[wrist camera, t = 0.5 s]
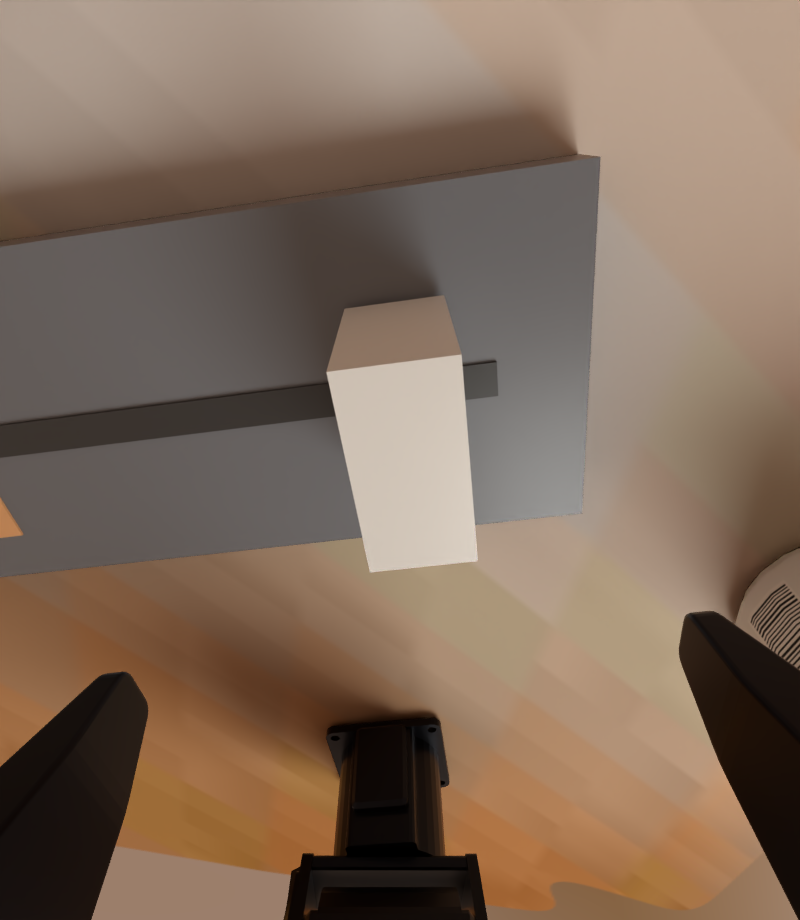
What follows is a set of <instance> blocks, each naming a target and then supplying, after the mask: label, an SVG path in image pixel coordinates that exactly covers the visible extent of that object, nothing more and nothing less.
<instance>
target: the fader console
mask: <svg viewBox="0 0 800 920" xmlns="http://www.w3.org/2000/svg"><path fill="white" fill-rule="evenodd" d="M599 175H600V157H598V156H590V155H582V154H576V155H570V156H563V157H557V158H550V159H543V160H537V161H530V162H523V163H517V164H510V165H504V166H497V167H490V168H484V169H477V170H470V171H464V172H457V173H451V174H444V175H437V176H431V177H424V178H417V179H411V180H404V181H398V182H391V183H384V184H378V185H371V186H364V187H358V188H351V189H344V190H338V191H331V192H325V193H318V194H311V195H305V196H298V197H291V198H285V199H278V200H272V201H265V202H258V203H252V204H245V205H238V206H232V207H225V208H219V209H212V210H205V211H199V212H192V213H185V214H179V215H172V216H166V217H159V218H152V219H146V220H139V221H132V222H126V223H119V224H113V225H106V226H99V227H93V228H86V229H79V230H73V231H66V232H60V233H53V234H46V235H40V236H33V237H26V238H20V239H13V240H7V241H0V577H6V576H15V575H24V574H33V573H42V572H52V571H61V570H70V569H79V568H88V567H97V566H106V565H115V564H125V563H134V562H143V561H152V560H161V559H170V558H179V557H189V556H198V555H207V554H216V553H225V552H234V551H243V550H252V549H262V548H271V547H280V546H289V545H298V544H307V543H316V542H325V541H335V540H344V539H353V538H362V533H361V529H360V524H359V520H358V515H357V510H356V506H355V501H354V497H353V492H352V487H351V483H350V478H349V474H348V469H347V465H346V460H345V455H344V451H343V446H342V442H341V437H340V432H339V428H338V423H337V419H336V414H335V410H334V405H333V400H332V396H331V391H330V387H329V382H328V377H327V373H326V371H327V368H328V364H329V361H330V357H331V354H332V350H333V347H334V344H335V340H336V337H337V333H338V330H339V326H340V323H341V319H342V316H343V312H344V309H346V308H353V307H361V306H368V305H375V304H383V303H390V302H397V301H404V300H412V299H419V298H426V297H434V296H441V295H444V297H445V300H446V303H447V307H448V310H449V314H450V317H451V320H452V324H453V327H454V330H455V334H456V337H457V340H458V344H459V347H460V351H461V354H462V365H463V378H464V391H465V404H466V417H467V430H468V442H469V455H470V468H471V481H472V494H473V506H474V519H475V525H481V524H490V523H499V522H508V521H517V520H526V519H535V518H544V517H554V516H563V515H572V514H581V513H582V505H583V486H584V466H585V447H586V427H587V408H588V389H589V369H590V350H591V330H592V311H593V291H594V272H595V253H596V233H597V214H598V194H599Z"/></svg>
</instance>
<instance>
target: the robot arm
mask: <svg viewBox="0 0 800 920" xmlns="http://www.w3.org/2000/svg"><path fill="white" fill-rule="evenodd" d="M679 657H680V661H681V664H682V667H683V670H684V672H685V675H686V677H687V680H688V683H689V685H690V688H691V690H692V693H693V696H694V698H695V701H696V703H697V706H698V709H699V711H700V714H701V717H702V719H703V722H704V724H705V727H706V730H707V732H708V735H709V737H710V740H711V743H712V745H713V748H714V750H715V753H716V755H717V758H718V760H719V762H720V764H721V767H722V769H723V771H724V773H725V775H726V777H727V779H728V781H729V783H730V785H731V787H732V789H733V791H734V793H735V795H736V797H737V799H738V801H739V803H740V805H741V807H742V809H743V811H744V813H745V815H746V817H747V819H748V821H749V823H750V825H751V827H752V829H753V831H754V833H755V835H756V837H757V839H758V841H759V843H760V845H761V847H762V849H763V851H764V853H765V854H766V856H767V858H768V860H769V862H770V864H771V866H772V868H773V870H774V872H775V874H776V876H777V878H778V880H779V882H780V884H781V886H782V888H783V890H784V892H785V894H786V896H787V898H788V900H789V902H790V904H791V906H792V908H793V910H794V912H795V914H796V915H797V918H798V920H800V670H799V669H798V668H796V667H795V666H794V665H792V664H791V663H789V662H788V661H786V660H785V659H784V658H782V657H781V656H779V655H778V654H776V653H775V652H773V651H772V650H771V649H769V648H768V647H766V646H765V645H763V644H762V643H761V642H759V641H758V640H756V639H755V638H753V637H752V636H751V635H749V634H748V633H746V632H745V631H743V630H742V629H741V628H739V627H738V626H736V625H735V624H733V623H732V622H730V621H729V620H728V619H726V618H725V617H723V616H722V615H720V614H719V613H717V612H714V611H703V612H693V613H688V614H687V615H686V616H685V618H684V622H683V628H682V633H681V639H680V644H679ZM147 717H148V705H147V701H146V699H145V697H144V696H143V694H142V692H141V691H140V689H139V687H138V686H137V684H136V682H135V681H134V679H133V678H132V676H131V675H130V674H129V673H127V672H116V673H107V674H103V675H101V676H99V677H98V678H97V679H95V680H94V681H93V682H92V683H91V684H90V685H89V686H88V687H87V688H86V689H85V690H83V691H82V692H81V693H80V694H79V695H78V696H77V697H76V698H75V699H74V700H73V701H71V702H70V703H69V704H68V705H67V706H66V707H65V708H64V709H63V710H62V711H61V712H60V713H58V714H57V715H56V716H55V717H54V718H53V719H52V720H51V721H50V722H49V723H48V724H46V725H45V726H44V727H43V728H42V729H41V730H40V731H39V732H38V733H37V734H36V735H34V736H33V737H32V738H31V739H30V740H29V741H28V742H27V743H26V744H25V745H24V746H22V747H21V748H20V749H19V750H18V751H17V752H16V753H15V754H14V755H13V756H12V757H11V758H9V759H8V760H7V761H6V762H5V763H4V764H3V765H2V766H1V767H0V920H91V919H92V916H93V913H94V909H95V906H96V903H97V900H98V897H99V894H100V891H101V888H102V885H103V882H104V879H105V876H106V873H107V869H108V866H109V863H110V860H111V857H112V854H113V851H114V848H115V845H116V842H117V839H118V836H119V833H120V830H121V826H122V823H123V820H124V816H125V813H126V809H127V805H128V801H129V798H130V793H131V789H132V784H133V780H134V775H135V771H136V767H137V762H138V758H139V753H140V749H141V744H142V740H143V735H144V731H145V727H146V722H147ZM326 739H327V742H328V745H329V748H330V751H331V754H332V756H333V759H334V762H335V765H336V768H337V771H338V774H339V776H340V786H339V798H338V809H337V821H336V833H335V844H334V856H314V853H303V855H302V860H301V866H300V867H299V868H297V869H295V870H293V871H292V872H291V879H290V886H289V893H288V900H287V906H286V911H285V916H284V920H487V913H486V908H485V901H484V895H483V889H482V884H481V878H480V872H479V866H478V860H477V854H465V856H445V844H444V830H443V815H442V801H441V787H446V786H448V785H449V774H448V767H447V761H446V755H445V748H444V742H443V736H442V729H441V723H440V721H439V720H438V719H436V718H425V719H413V720H402V721H390V722H379V723H367V724H356V725H345V726H334V727H330V728H328V730H327V736H326Z"/></svg>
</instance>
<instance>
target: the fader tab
mask: <svg viewBox="0 0 800 920" xmlns="http://www.w3.org/2000/svg"><path fill="white" fill-rule="evenodd" d="M326 373H327V377H328V382H329V387H330V391H331V396H332V400H333V405H334V410H335V414H336V419H337V423H338V428H339V432H340V437H341V442H342V446H343V451H344V455H345V460H346V465H347V469H348V474H349V478H350V483H351V487H352V492H353V497H354V501H355V506H356V510H357V515H358V520H359V524H360V529H361V533H362V538H363V542H364V547H365V552H366V556H367V561H368V565H369V570H370V572H379V571H388V570H398V569H407V568H417V567H426V566H436V565H445V564H455V563H464V562H474V561H478V558H477V545H476V532H475V519H474V506H473V494H472V481H471V468H470V455H469V442H468V430H467V417H466V404H465V391H464V378H463V365H462V354H461V351H460V347H459V344H458V340H457V337H456V334H455V330H454V327H453V324H452V320H451V317H450V314H449V310H448V307H447V303H446V300H445V297H444V295H441V296H434V297H426V298H419V299H412V300H404V301H397V302H390V303H383V304H375V305H368V306H361V307H353V308H346V309H344V312H343V316H342V319H341V323H340V326H339V330H338V333H337V337H336V340H335V344H334V347H333V350H332V354H331V357H330V361H329V364H328V368H327V371H326Z"/></svg>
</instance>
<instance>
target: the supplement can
mask: <svg viewBox="0 0 800 920" xmlns="http://www.w3.org/2000/svg"><path fill="white" fill-rule="evenodd" d="M735 624H736V626H738V627H739V628H741V629H742V630H743V631H745V632H746V633H748V634H749V635H751V636H752V637H753V638H755V639H756V640H758V641H759V642H761V643H762V644H763V645H765V646H766V647H768V648H769V649H771V650H772V651H773V652H775V653H776V654H778V655H779V656H781V657H782V658H784V659H785V660H786V661H788V662H789V663H791V664H792V665H794V666H795V667H796V668H798V669H799V670H800V548H798V549H796V550H794V551H792V552H789V553H787V554H785V555H783V556H782V557H780V558H779V559H778V560H776V561H775V562H774V563H772V564H771V565H770V566H768V567H767V568H766V569H764V570H763V571H762V572H760V574H759V575H758V576H757V577H756V579H755V580H754V581H753V582H752V584H751V585H750V586H749V588H748V589H747V590H746V592H745V595H744V599H743V601H742V602H741V606H740V609H739V612H738V616H737V619H736V622H735Z"/></svg>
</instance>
